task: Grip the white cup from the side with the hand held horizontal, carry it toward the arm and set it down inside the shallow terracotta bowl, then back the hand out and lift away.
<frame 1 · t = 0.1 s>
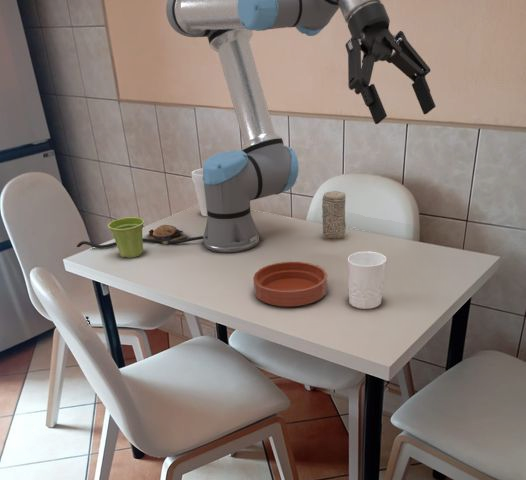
hand: (406, 115, 111), 36 cm above the table, tool tilted 35°, fingers open, 13 cm apart
plant pot: (131, 254, 154), on the table
foam cup: (211, 213, 181), on the table
white cup: (365, 302, 123), on the table
carving: (333, 237, 157), on the table
bowl: (290, 292, 129), on the table
brown domed piece: (167, 238, 164), on the table
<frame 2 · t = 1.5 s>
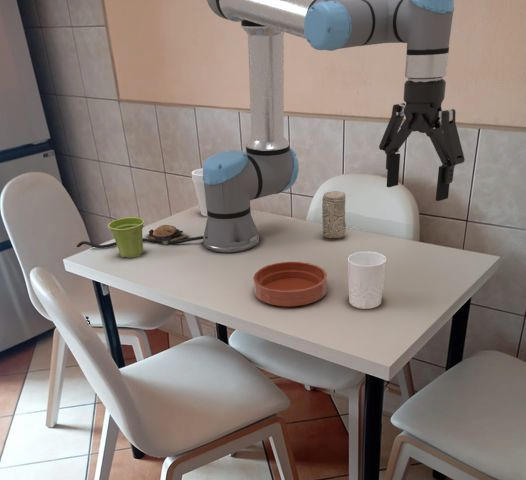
hand: (416, 192, 118), 21 cm above the table, tool pointing down, fingers open, 13 cm apart
nothing on the table moved.
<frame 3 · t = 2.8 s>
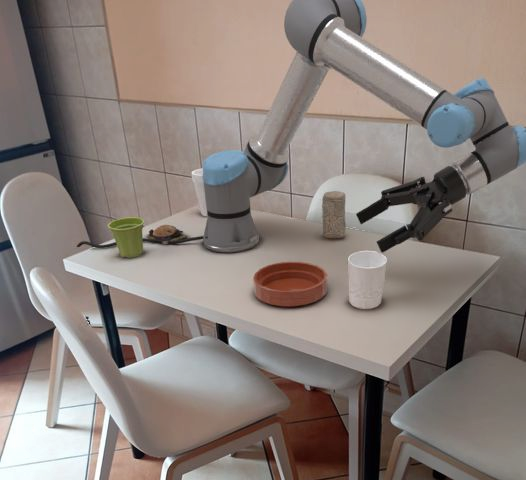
hand: (368, 232, 123), 12 cm above the table, tool tilted 65°, fingers open, 13 cm apart
white cup: (364, 302, 123), on the table, touching gripper
everything else where it was.
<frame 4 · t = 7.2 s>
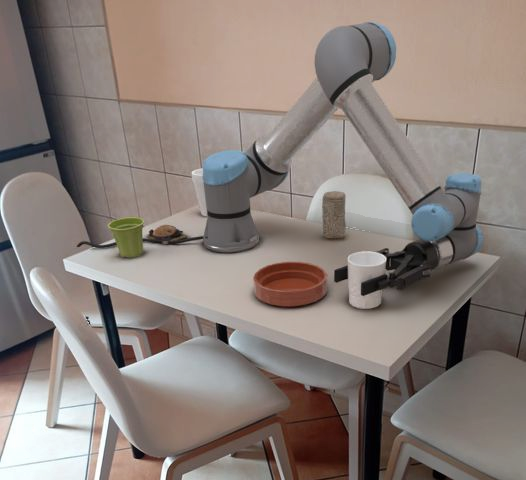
hand: (348, 282, 117), 6 cm above the table, tool horizontal, fingers closed on white cup, 8 cm apart
white cup: (364, 302, 123), on the table, touching gripper
everything else where it was.
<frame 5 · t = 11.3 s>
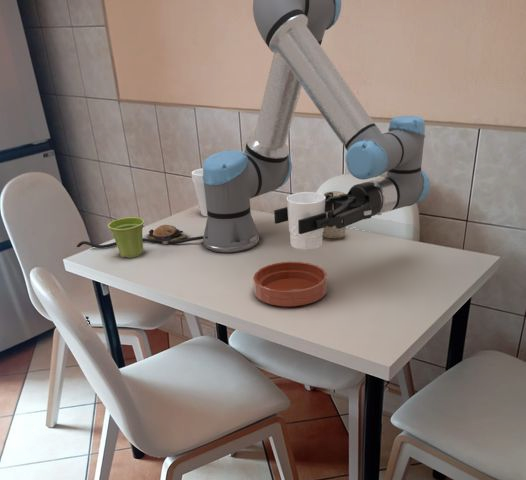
hand: (287, 222, 116), 18 cm above the table, tool horizontal, fingers closed on white cup, 8 cm apart
white cup: (306, 245, 121), point 12 cm above the table, touching gripper
everything else where it was.
when the fingers open (7 cm above the table, at t = 15.4 s): white cup stays where it is, resting on bowl.
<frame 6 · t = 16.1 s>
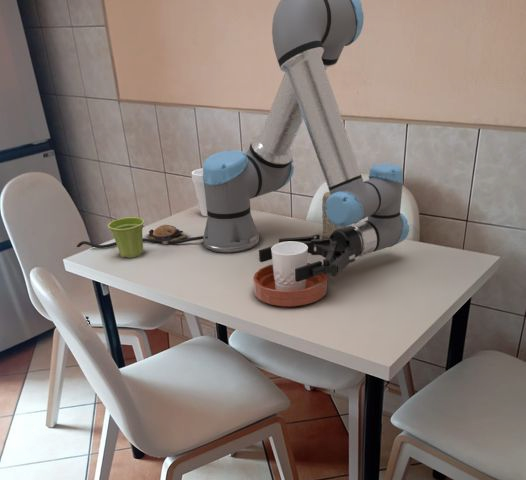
hand: (277, 265, 124), 7 cm above the table, tool horizontal, fingers open, 13 cm apart
white cup: (290, 290, 129), resting on bowl
everything else where it was.
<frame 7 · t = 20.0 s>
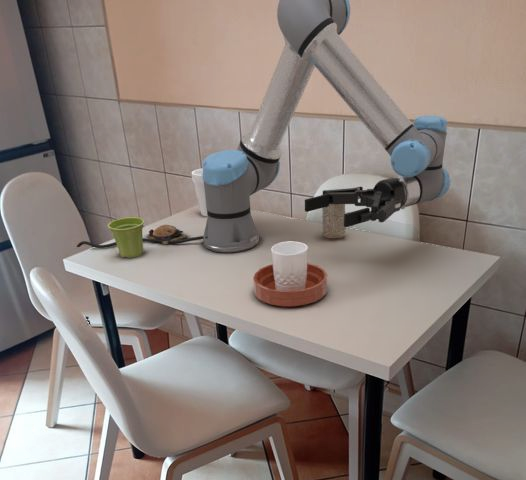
hand: (324, 213, 125), 16 cm above the table, tool horizontal, fingers open, 13 cm apart
nothing on the table moved.
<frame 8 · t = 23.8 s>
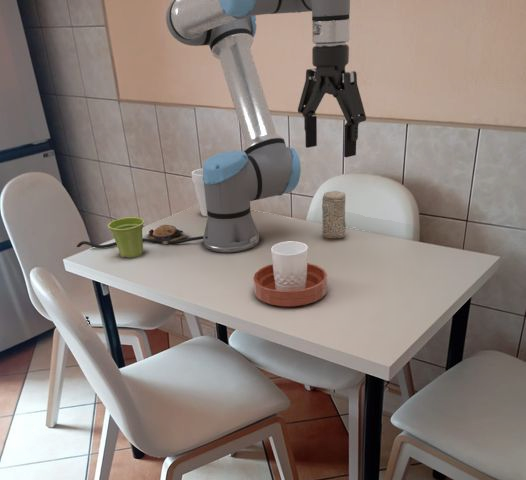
hand: (329, 151, 129), 27 cm above the table, tool pointing down, fingers open, 13 cm apart
nothing on the table moved.
at the end: white cup 0.0 cm off-centre in the bowl, point 0.4 cm above the bowl's base; white cup tilted 0°; the gripper is holding nothing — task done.
